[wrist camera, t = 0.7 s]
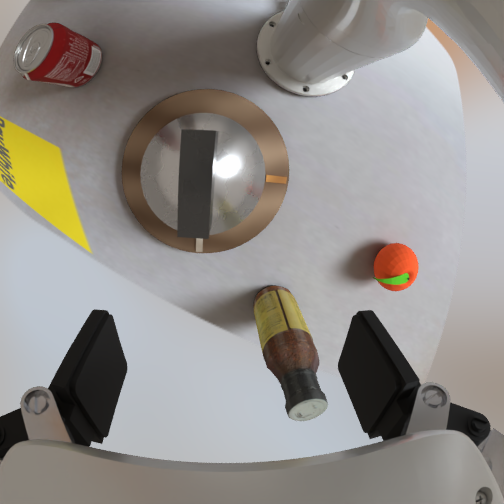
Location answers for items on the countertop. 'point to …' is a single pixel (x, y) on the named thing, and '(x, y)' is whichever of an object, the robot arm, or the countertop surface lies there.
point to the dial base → (240, 113)
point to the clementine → (395, 267)
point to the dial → (202, 174)
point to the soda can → (57, 56)
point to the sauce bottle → (289, 352)
